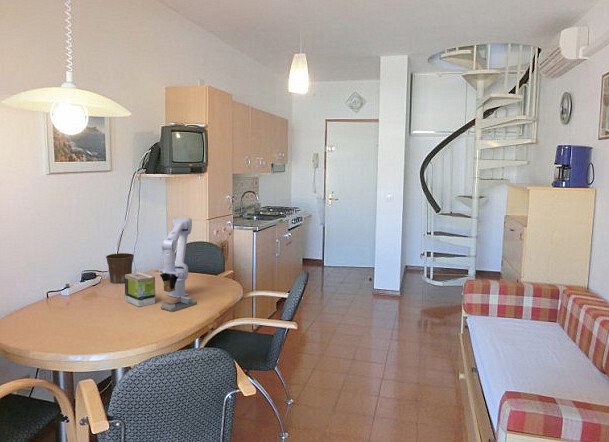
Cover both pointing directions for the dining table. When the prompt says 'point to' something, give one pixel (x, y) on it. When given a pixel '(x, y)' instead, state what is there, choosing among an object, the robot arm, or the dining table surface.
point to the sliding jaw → (186, 300)
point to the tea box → (140, 289)
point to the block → (168, 286)
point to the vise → (176, 306)
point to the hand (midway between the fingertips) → (169, 287)
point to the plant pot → (119, 266)
